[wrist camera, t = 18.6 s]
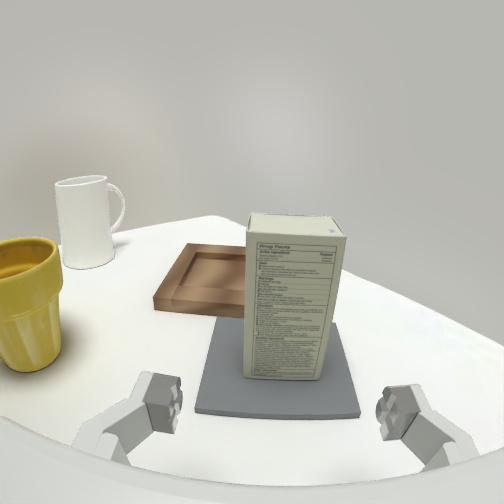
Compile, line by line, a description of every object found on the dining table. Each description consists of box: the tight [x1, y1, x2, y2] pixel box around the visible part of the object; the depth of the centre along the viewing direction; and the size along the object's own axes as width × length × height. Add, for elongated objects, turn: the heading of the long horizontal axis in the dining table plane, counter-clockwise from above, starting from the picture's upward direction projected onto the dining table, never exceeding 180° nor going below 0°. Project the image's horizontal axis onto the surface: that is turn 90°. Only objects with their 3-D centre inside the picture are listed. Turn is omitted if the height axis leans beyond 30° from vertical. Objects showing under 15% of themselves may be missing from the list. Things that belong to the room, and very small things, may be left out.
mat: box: [195, 317, 361, 420], centre depth 26 cm, size 12×12×1 cm
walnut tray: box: [153, 243, 246, 318], centre depth 39 cm, size 14×16×2 cm
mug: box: [55, 175, 125, 269], centre depth 43 cm, size 12×8×12 cm
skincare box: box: [243, 213, 346, 380], centre depth 23 cm, size 6×4×12 cm
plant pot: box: [0, 237, 63, 372], centre depth 22 cm, size 10×10×10 cm
